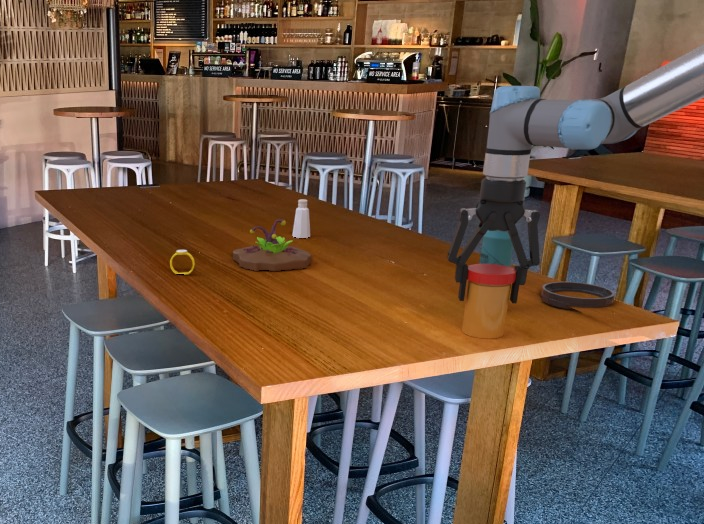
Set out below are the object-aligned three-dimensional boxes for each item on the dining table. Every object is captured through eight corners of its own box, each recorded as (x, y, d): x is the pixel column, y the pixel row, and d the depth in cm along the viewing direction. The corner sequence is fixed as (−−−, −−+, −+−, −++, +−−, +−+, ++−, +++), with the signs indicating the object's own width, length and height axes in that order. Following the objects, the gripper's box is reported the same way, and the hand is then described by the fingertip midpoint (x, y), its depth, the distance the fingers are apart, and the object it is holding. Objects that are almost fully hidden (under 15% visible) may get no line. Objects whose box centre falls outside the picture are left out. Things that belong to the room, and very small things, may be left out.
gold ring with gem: (195, 273, 196) (195, 249, 194) (193, 276, 193) (193, 252, 191) (171, 272, 197) (171, 249, 194) (169, 275, 194) (169, 251, 192)
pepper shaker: (302, 234, 241) (304, 197, 237) (314, 237, 237) (316, 200, 233) (288, 236, 238) (289, 199, 234) (299, 239, 234) (301, 201, 230)
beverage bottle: (488, 302, 171) (501, 209, 164) (512, 310, 166) (527, 214, 158) (465, 306, 169) (478, 211, 161) (489, 314, 163) (503, 216, 156)
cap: (462, 272, 153) (463, 262, 152) (510, 274, 151) (511, 264, 151) (468, 283, 145) (469, 273, 144) (518, 286, 143) (520, 275, 143)
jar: (512, 336, 149) (521, 276, 145) (476, 340, 148) (485, 279, 143) (487, 325, 156) (496, 267, 152) (453, 328, 154) (461, 270, 150)
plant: (320, 270, 199) (323, 225, 195) (244, 273, 196) (245, 227, 192) (298, 252, 217) (300, 211, 213) (228, 255, 214) (229, 213, 210)
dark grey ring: (627, 309, 166) (630, 296, 165) (569, 315, 162) (572, 301, 161) (580, 292, 178) (582, 279, 177) (526, 297, 175) (528, 284, 174)
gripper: (562, 176, 143) (542, 297, 151) (439, 174, 146) (426, 292, 155) (573, 182, 136) (551, 308, 144) (444, 179, 140) (430, 303, 148)
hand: (486, 300), depth 150 cm, fingers closed on cap, 9 cm apart
